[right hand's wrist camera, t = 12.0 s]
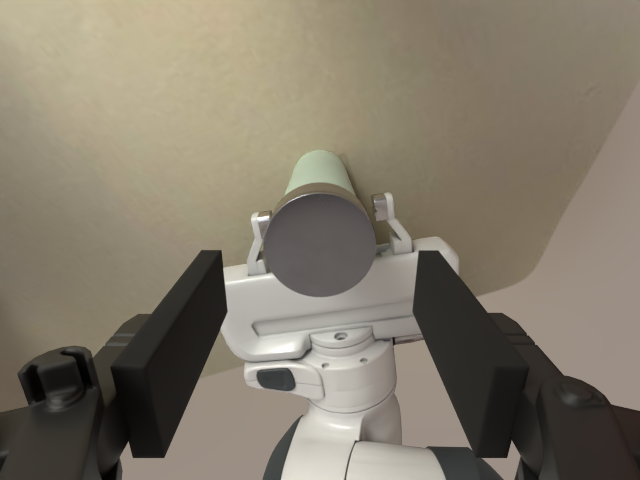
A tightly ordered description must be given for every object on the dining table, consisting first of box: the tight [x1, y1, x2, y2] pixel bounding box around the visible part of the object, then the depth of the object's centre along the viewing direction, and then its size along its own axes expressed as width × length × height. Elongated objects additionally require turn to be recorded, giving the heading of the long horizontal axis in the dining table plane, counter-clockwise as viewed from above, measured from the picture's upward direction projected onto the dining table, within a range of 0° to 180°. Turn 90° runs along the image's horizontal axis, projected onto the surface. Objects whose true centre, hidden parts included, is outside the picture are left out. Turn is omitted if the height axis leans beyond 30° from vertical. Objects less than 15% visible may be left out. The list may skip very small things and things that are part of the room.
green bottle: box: [284, 150, 356, 196], centre depth 26 cm, size 5×5×17 cm
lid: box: [264, 182, 376, 297], centre depth 19 cm, size 6×5×2 cm
